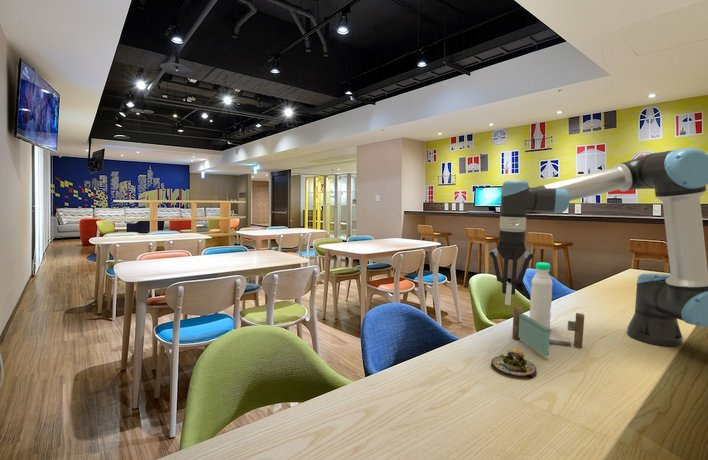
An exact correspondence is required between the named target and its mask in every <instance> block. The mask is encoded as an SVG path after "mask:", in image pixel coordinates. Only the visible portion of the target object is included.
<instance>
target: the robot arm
mask: <svg viewBox="0 0 708 460" xmlns="http://www.w3.org/2000/svg"><path fill="white" fill-rule="evenodd" d="M707 185H708V153H707V152H705V151H704V150H702V149H699V148H695V147H694V148H693V147H692V148H691V147H690V148H677V149H673V150H668V151H667V150H666V151H660V152H653V153H648V154H646V155H642V156H640V157H636V158H634V159H630V160H627V161H624V162H620V163H617V164H614V166H612V168H609V169H604V170H599V171H596V172H592V173H587V174H584V175H580V176H576V177H572V178H568V179H567V178H566V179H562V180H559V181H554V182H551V183H548V184H547V183H546V184H543V185H542V184H541V185H538V186H535V187H530V186H529V181H527V180H506V181H504V182H502V186H501V187H502V188H501V194H500V198H501V199H500V217H499V229H500V230H499V232H498V244H497V246H496V248H494V249H493V250H490V251H489V255H490V257H491V258H492V261H493V268H494V271H495V276H496V281H497V282H499V283H501V292H502V294H505V299H504V304H505V306H511V305H512V304H511V303H512V300H511V299H512V296H515V294H516V286H517V285H518V284H522V283H523V282H524V281H523V280H524V278H525V276H526V272H527V270H528V266H529V263H530V261H531V260H532V259H533V258H534V254H533V253H532V252H529V251H528V250H527V248H526V245H525V242H526V232H525V230H526V227H527V214H528V213H533V212H534V213H553V214H555V213H563V212H565V211H567V209H568V208H569V206H570V202H571V201H572V202H573V201H575V200H576V201H577V200H580V199H584V198H588V197H589V198H590V197H593V196H597V195H602V194H606V193H610V192H614V191H619V192H627V191H632V190H633V191H634V190H653V189H654V195H655V198H657V199H658V200H660V201H661V203H662V208H663V210H662V211H663V217H664V226H665V234H666V242H667V253H668V263H669V270H670V274H668V273H667V274H666V273H665V274H664V273H641V274H639V275H638V277H637V282H636V293H635V304H634V306H635V307H634V314H633V316H632V318H631V319H630V320H629V321H630V322H629V324H628V325H627V329H626V334H627V335H628V336H629V337H630V338H632V339H635V340H637V341H640V342H643V343H646V344H650V345H651V344H652V345H657V346H663V347H680V346H682V345H683V340H684V338H683V334H682V331H681V328H680V325H679V322H678V320H679V321H682V322H684V323H686V324H688V325H692V326H693V325H694V326H696V327H699V328H700V327H701V328H708V262H707V261H708V260H707V251H706V244H705V234H704V226H703V225H704V223H703V215H702V205H701V197H702V196H703V195H704V194H705V193H707ZM498 253H499V254H498ZM498 255H500V256H501V258H502V259H503V265H502V266H503V269H502V277H501V273H500V267H499V263H498V259H497V256H498ZM522 256H523V258H524V259H523V263H522V265H521V268H520V270H519V273H518V277H517V271H518V269H517V268H518V260H520V258H521V257H522ZM510 260H511V261H512V262H511V264H512V265H511V276H510V277H511V279H510V280H511V281H510V282H508V271H509V261H510Z"/></svg>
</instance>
